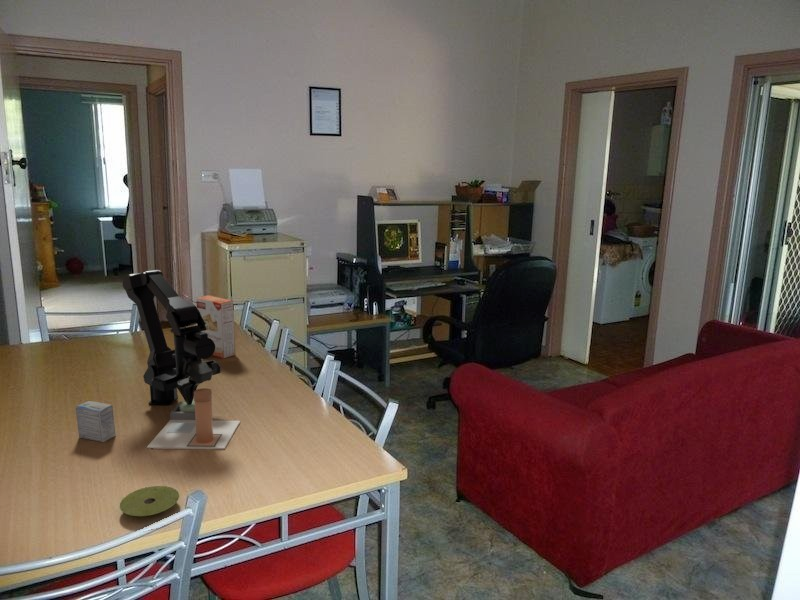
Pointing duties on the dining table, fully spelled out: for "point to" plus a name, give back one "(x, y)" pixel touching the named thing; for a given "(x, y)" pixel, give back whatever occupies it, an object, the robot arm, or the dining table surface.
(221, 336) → the cracker box
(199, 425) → the brown tall rounded cylinder
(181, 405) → the button
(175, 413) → the button housing
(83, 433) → the medicine box
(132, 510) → the green disc
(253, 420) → the dining table surface
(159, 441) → the colouring sheet
